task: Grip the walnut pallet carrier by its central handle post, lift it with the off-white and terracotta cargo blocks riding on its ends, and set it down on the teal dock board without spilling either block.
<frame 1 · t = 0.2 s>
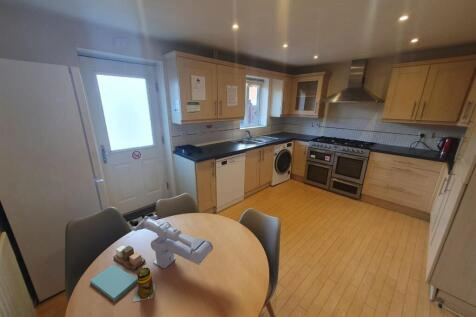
hand: (136, 218, 110), 21 cm above the table, tool horizontal, fingers open, 7 cm apart
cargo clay: (136, 261, 103), point 2 cm above the table, touching carrier
dock: (114, 282, 92), on the table
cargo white: (122, 254, 108), point 2 cm above the table, touching carrier
carrier: (129, 261, 106), on the table, touching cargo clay, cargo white
condiment: (144, 293, 87), on the table
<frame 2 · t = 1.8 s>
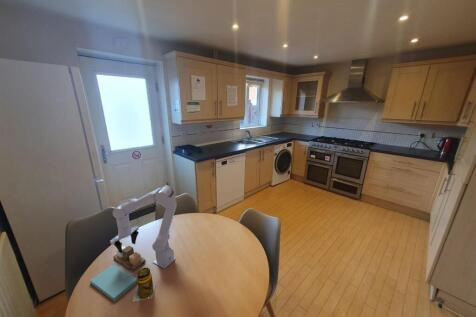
hand: (127, 247, 104), 9 cm above the table, tool pointing down, fingers open, 7 cm apart
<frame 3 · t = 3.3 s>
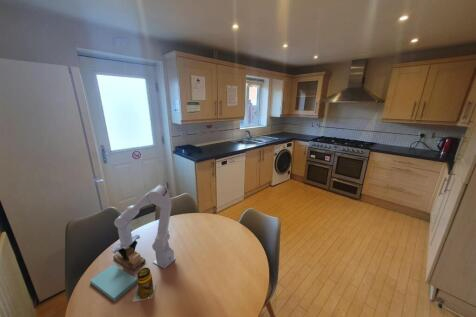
hand: (128, 256, 105), 3 cm above the table, tool pointing down, fingers closed on carrier, 4 cm apart
carrier: (129, 260, 106), on the table, touching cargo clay, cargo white, gripper
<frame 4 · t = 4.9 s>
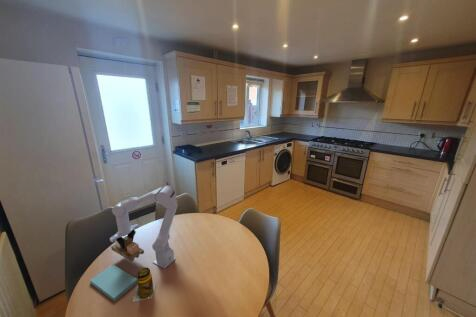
hand: (127, 245, 104), 10 cm above the table, tool pointing down, fingers closed on carrier, 4 cm apart
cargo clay: (133, 251, 102), point 8 cm above the table, touching carrier
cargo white: (121, 244, 107), point 8 cm above the table, touching carrier
carrier: (127, 251, 105), point 6 cm above the table, touching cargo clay, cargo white, gripper
everything else where it was.
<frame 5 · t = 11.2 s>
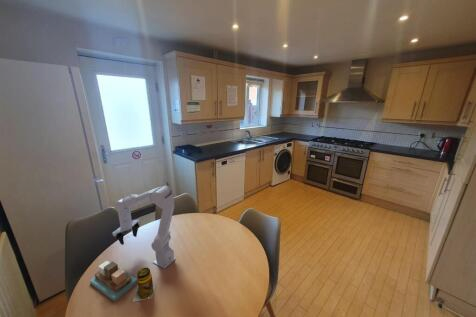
hand: (128, 240, 108), 10 cm above the table, tool pointing down, fingers open, 7 cm apart
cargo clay: (119, 280, 89), point 4 cm above the table, touching carrier
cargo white: (106, 271, 94), point 4 cm above the table, touching carrier
carrier: (113, 279, 92), point 2 cm above the table, touching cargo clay, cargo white, dock
everything else where it was.
at the end: carrier 0.1 cm off-centre on the dock, point 2.0 cm above the dock's base; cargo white point 4.2 cm above the table; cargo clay point 4.2 cm above the table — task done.
